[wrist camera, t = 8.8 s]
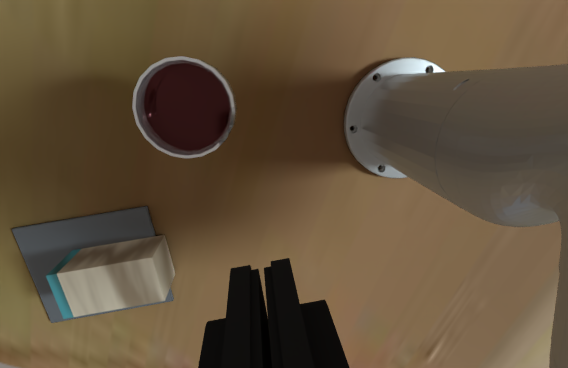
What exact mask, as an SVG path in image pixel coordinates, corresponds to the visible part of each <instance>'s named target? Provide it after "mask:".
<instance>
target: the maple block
mask: <svg viewBox="0 0 568 368" xmlns="http://www.w3.org/2000/svg"><path fill="white" fill-rule="evenodd" d="M174 276H175V271H174V267H173V263H172V260H171V256H170V252H169V249H168V245H167V241H166V238H165V235H160V236H154V237H148V238H143V239H137V240H131V241H125V242H119V243H113V244H107V245H101V246H95V247H89V248H83V249H77V250H72V251H71V252H70V253H69V254H68V255H67V256H66V257H65V258H64V259H63V260H62V261H61V262H60V263H59V264H58V265H56V266H55V267H54V268H53V269H52V270H51V271H50V272H49V273H48V274H47V275H46V277H47V280H48V282H49V285H50V287H51V290H52V292H53V294H54V297H55V299H56V302H57V304H58V307H59V309H60V312H61V314H62V316H63V319H67V318H72V317H78V316H83V315H89V314H95V313H100V312H106V311H111V310H117V309H122V308H128V307H134V306H139V305H145V304H150V303H156V302H161V301H165V300H166V297H167V294H168V292H169V289H170V286H171V284H172V281H173V279H174Z"/></svg>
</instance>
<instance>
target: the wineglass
mask: <svg viewBox="0 0 568 368" xmlns="http://www.w3.org/2000/svg"><path fill="white" fill-rule="evenodd" d="M132 109H133V113H134V117H135V121H136V124H137V126H138V128H139V129H140V131H141V132H142V134H143V136H144V137H145V139H146V140H148V141H149V142H150V143H151V144H152V145H153V146H154V147H155V148H156V149H158V150H160V151H162V152H164V153H166V154H168V155H170V156H174V157H180V158H186V159H188V158H195V157H202V156H204V155H206V154H208V153H210V152H212V151H214V150H216V149H217V148H218V147H219V146H220V145H221V144H222V143H223V142H224V141H225V140H226V139H227V137H228V136H229V134H230V132H231V130H232V128H233V126H234V124H235V119H236V112H237V105H236V99H235V94H234V92H233V90H232V88H231V86H230V84H229V81H228V80H227V79H226V78H225V77H224V75H223V74H222V73H221V72H220V71H219V70H218V69H217V68H215V67H213V66H212V65H210V64H208V63H206V62H205V61H203V60H198V59H193V58H189V57H184V56H179V57H171V58H165V59H163V60H161V61H159V62H157V63H155V64H153V65H151V66H150V67H149V68H148V69H147V70H146V71H145V72H144V73H143V74H142V75H141V76H140V78H139V80H138V82H137V85H136V87H135V89H134V92H133V106H132Z"/></svg>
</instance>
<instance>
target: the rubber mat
mask: <svg viewBox="0 0 568 368" xmlns="http://www.w3.org/2000/svg"><path fill="white" fill-rule="evenodd" d="M12 232H13V234H14V236H15V239H16V241H17V243H18V246H19V248H20V250H21V253H22V255H23V257H24V260H25V262H26V264H27V267H28V269H29V271H30V274H31V276H32V279H33V281H34V283H35V286H36V288H37V290H38V293H39V295H40V297H41V300H42V302H43V304H44V307H45V309H46V311H47V314H48V316H49V318H50V321H51V323H54V322H59V321H65V320H70V319H76V318H82V317H87V316H93V315H98V314H104V313H109V312H115V311H120V310H126V309H131V308H137V307H142V306H148V305H153V304H159V303H164V302H170V301H173V299H174V298H173V295H172V291H171V288H170V289H169V292H168V294H167V297H166V300H165V301H161V302H156V303H150V304H145V305H139V306H134V307H128V308H122V309H117V310H111V311H106V312H100V313H95V314H89V315H83V316H78V317H72V318H67V319H63V316H62V314H61V312H60V309H59V307H58V304H57V302H56V299H55V297H54V294H53V292H52V290H51V287H50V285H49V282H48V280H47V277H46V275H47V274H48V273H49V272H50V271H51V270H52V269H53V268H54V267H55V266H56V265H58V264H59V263H60V262H61V261H62V260H63V259H64V258H65V257H66V256H67V255H68V254H69V253H70V252H71V251H72V250H77V249H83V248H89V247H95V246H101V245H107V244H113V243H119V242H125V241H131V240H137V239H143V238H148V237H154V236H156V235H155V232H154V228H153V224H152V221H151V217H150V214H149V210H148V207H147V206H144V207H138V208H132V209H126V210H120V211H114V212H107V213H101V214H95V215H89V216H83V217H77V218H71V219H65V220H59V221H53V222H47V223H41V224H35V225H28V226H22V227H16V228H13V229H12Z"/></svg>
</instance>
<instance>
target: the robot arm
mask: <svg viewBox="0 0 568 368" xmlns="http://www.w3.org/2000/svg"><path fill="white" fill-rule="evenodd" d="M426 68H427V72H425V70H426ZM374 75H375V76H376V79H375V80H373V76H374ZM351 126H353V130H350V127H351ZM344 133H345V138H346V142H347V144H348V147H349V149H350V151H351V153H352V154H353V156H354V157H355V158H356V160H357V161H358V162H359V163H360V164H361V165H363V166H364V167H365V168H366V169H368V170H369V171H371V172H373V173H375V174H377V175H379V176H383V177H388V178H406V177H409V178H411V179H413V180H414V181H416V182H418V183H419V184H421V185H423V186H425V187H426V188H428V189H430V190H431V191H433V192H435V193H436V194H438V195H440V196H441V197H443V198H445V199H447V200H448V201H450V202H452V203H453V204H455V205H457V206H458V207H460V208H462V209H464V210H466V211H468V212H469V213H471V214H473V215H475V216H477V217H479V218H481V219H483V220H485V221H488V222H491V223H494V224H498V225H503V226H511V227H530V226H539V225H544V224H550V223H554V222H557V221H560V225H561V251H560V260H559V273H560V274H559V282H558V290H557V297H556V305H555V313H554V321H553V329H552V336H551V349H550V365H549V368H568V64H563V65H552V66H537V67H520V68H508V69H490V70H471V71H452V72H445V70H443V69H442V68H441V67H439V66H438V65H436V64H435V63H433V62H430V61H428V60H425V59H420V58H415V57H412V58H399V59H394V60H391V61H388V62H385V63H382V64H381V65H379V66H377V67H376V68H374V69H372V70H371V71H370V72H369V73H368V74H366V75H365V76H364V77H363V78H362V79H361V80H360V82H359V83H358V84H357V85H356V87H355V88H354V90H353V92H352V94H351V96H350V97H349V100H348V103H347V106H346V109H345V116H344ZM379 166H380V168H379V169H378V167H379ZM264 275H265V287H266V299H267V311H268V317H267V312H266V307H265V301H264V296H263V291H262V285H261V280H260V275H259V270H258V269H255V270H251V266H250V265H248V266H242V267H237V268H231V271H230V281H229V291H228V301H227V312H226V318H224V319H218V320H213V321H208V322H207V324H206V327H205V333H204V338H203V344H202V350H201V355H200V361H199V366H198V368H349V365H348V362H347V360H346V357H345V354H344V351H343V348H342V345H341V342H340V340H339V337H338V334H337V331H336V328H335V325H334V323H333V320H332V317H331V314H330V311H329V308H328V306H327V303H326V301H325V300H320V301H315V302H310V303H304V304H300V303H299V299H298V295H297V290H296V286H295V281H294V277H293V273H292V268H291V264H290V260H289V258H287V259H282V260H276V261H271V267H266V268H264Z"/></svg>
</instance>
